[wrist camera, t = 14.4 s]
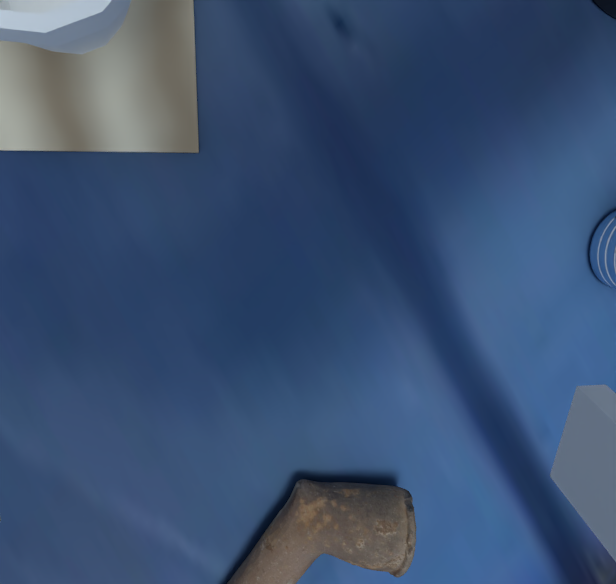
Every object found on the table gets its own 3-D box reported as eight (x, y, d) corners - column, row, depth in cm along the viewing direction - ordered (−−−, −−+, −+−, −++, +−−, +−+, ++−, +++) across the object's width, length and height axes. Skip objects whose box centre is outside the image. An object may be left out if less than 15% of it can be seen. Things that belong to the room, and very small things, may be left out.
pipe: (192, 652, 38) (309, 718, 40) (338, 458, 37) (450, 534, 39) (199, 590, 44) (300, 649, 46) (324, 423, 44) (421, 489, 45)
